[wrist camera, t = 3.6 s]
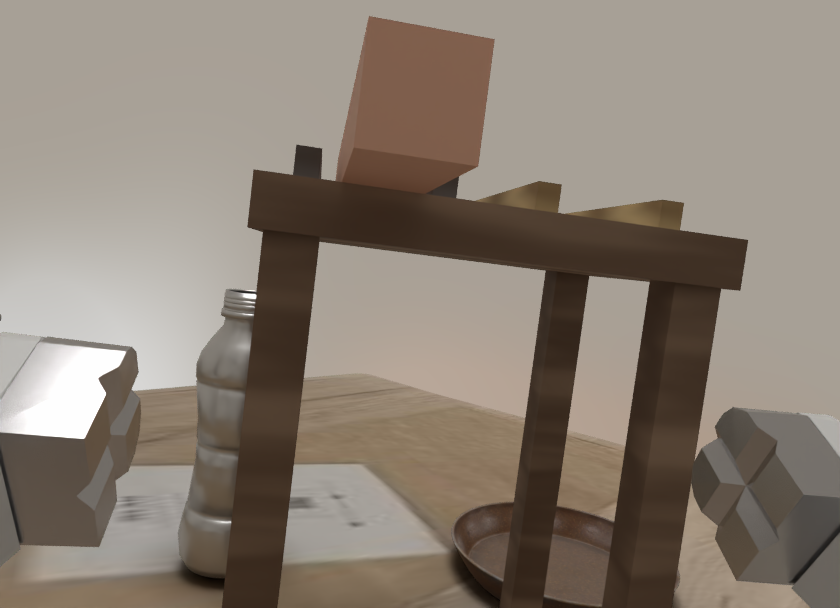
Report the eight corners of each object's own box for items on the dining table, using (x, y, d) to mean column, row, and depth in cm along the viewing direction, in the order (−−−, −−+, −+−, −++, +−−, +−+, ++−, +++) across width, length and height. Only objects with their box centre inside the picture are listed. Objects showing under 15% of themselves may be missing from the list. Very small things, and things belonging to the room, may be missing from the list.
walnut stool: (651, 860, 27) (754, 201, 26) (177, 872, 24) (258, 125, 23) (529, 637, 43) (588, 219, 41) (233, 627, 40) (283, 176, 38)
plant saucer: (615, 681, 40) (622, 633, 40) (401, 566, 51) (406, 529, 51) (705, 593, 53) (711, 557, 53) (521, 518, 65) (525, 488, 65)
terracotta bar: (478, 166, 16) (494, 39, 16) (353, 147, 15) (369, 15, 15) (382, 215, 39) (388, 166, 39) (332, 209, 39) (338, 158, 39)
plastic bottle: (264, 546, 51) (292, 293, 50) (271, 590, 45) (304, 301, 44) (176, 547, 49) (204, 283, 48) (171, 593, 43) (202, 291, 42)
